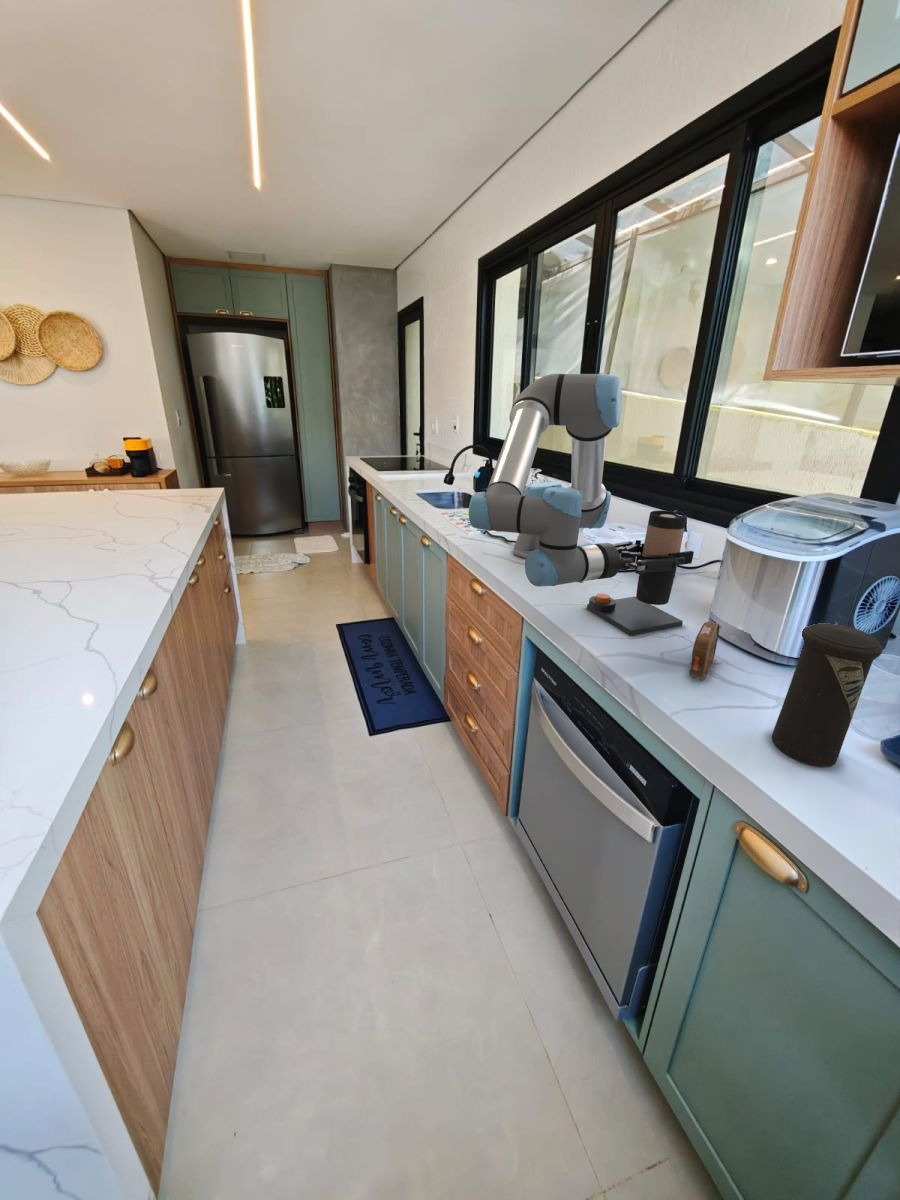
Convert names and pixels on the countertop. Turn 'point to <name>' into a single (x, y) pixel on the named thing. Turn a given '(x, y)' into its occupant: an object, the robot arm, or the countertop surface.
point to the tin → (704, 650)
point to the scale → (633, 615)
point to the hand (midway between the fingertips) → (677, 552)
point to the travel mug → (660, 541)
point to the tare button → (602, 598)
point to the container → (824, 692)
